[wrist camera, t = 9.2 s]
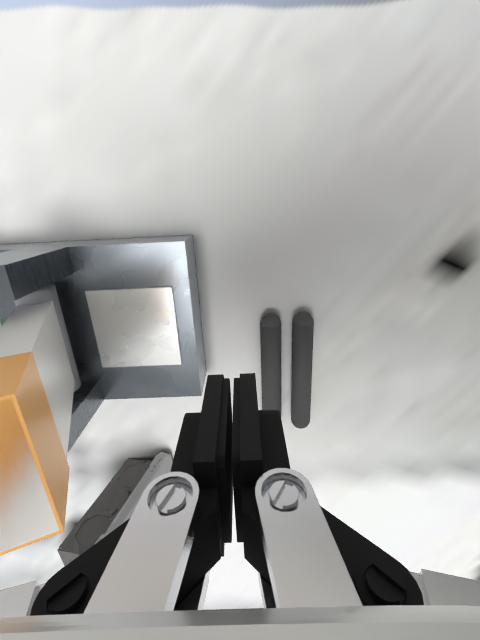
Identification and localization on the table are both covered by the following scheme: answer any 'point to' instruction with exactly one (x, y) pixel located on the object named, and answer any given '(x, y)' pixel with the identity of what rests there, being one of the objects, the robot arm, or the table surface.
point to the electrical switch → (114, 504)
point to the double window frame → (117, 314)
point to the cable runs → (300, 365)
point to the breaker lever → (34, 419)
